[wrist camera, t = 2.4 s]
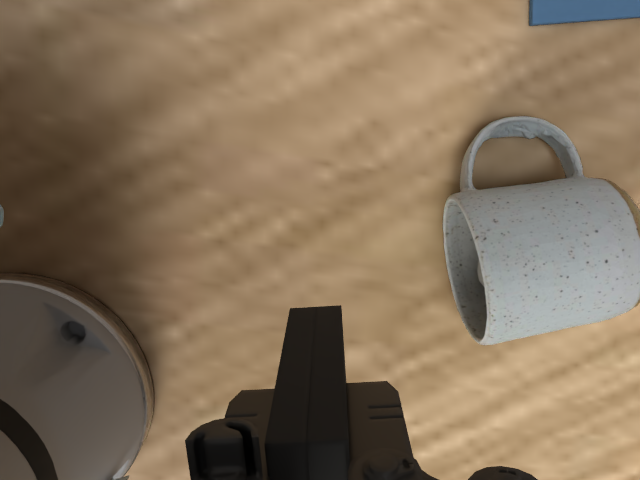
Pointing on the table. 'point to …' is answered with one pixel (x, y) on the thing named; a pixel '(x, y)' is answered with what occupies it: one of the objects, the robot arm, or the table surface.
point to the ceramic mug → (540, 245)
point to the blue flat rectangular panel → (581, 11)
